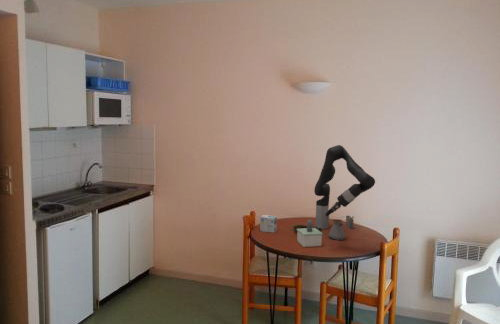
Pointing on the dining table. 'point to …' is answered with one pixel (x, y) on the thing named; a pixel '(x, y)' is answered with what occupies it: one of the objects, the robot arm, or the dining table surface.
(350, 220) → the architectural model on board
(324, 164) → the robot arm
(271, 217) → the light bulb box
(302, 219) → the dining table surface
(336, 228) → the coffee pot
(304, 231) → the lid
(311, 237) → the tub
